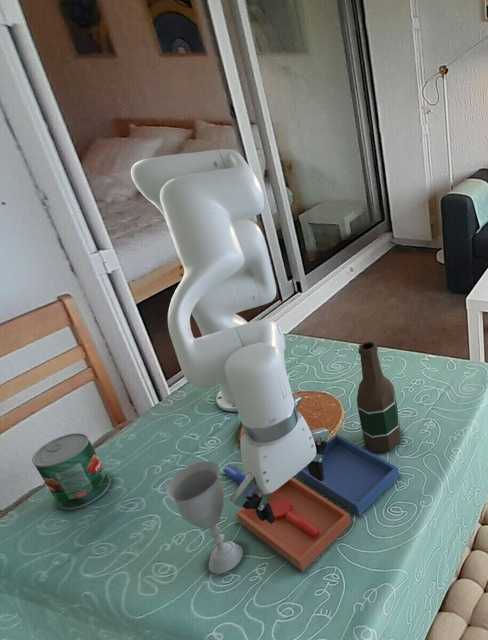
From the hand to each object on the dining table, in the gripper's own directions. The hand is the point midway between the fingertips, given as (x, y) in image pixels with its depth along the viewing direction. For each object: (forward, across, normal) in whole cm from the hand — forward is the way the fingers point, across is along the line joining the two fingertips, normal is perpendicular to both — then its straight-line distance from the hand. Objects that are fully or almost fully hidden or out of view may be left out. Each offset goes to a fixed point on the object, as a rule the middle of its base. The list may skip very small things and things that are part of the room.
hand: (293, 496), depth 84 cm
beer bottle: (+8, -22, -2) cm, 24 cm away
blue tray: (+7, -12, -2) cm, 14 cm away
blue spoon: (+8, 0, -17) cm, 19 cm away
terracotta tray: (+7, 0, -2) cm, 8 cm away
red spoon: (+7, 0, -2) cm, 7 cm away
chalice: (+8, +10, -6) cm, 14 cm away
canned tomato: (+8, +17, -42) cm, 46 cm away
